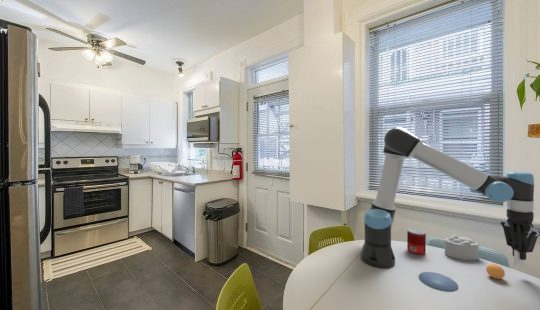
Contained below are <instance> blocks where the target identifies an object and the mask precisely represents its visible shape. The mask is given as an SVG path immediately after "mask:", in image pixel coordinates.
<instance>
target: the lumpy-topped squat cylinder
mask: <svg viewBox="0 0 540 310" xmlns="http://www.w3.org/2000/svg"><path fill="white" fill-rule="evenodd" d="M444 254H445V256H448V257H450V258H453V259H456V260H463V261H475V260H476V261H477V260H479V243H478V242H477V241H474V240H473V239H471V238H468V237H467V236H458V235H457V234H451V235H450V236H448V237H446V238H445V239H444Z"/></svg>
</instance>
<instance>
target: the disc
mask: <svg viewBox="0 0 540 310" xmlns="http://www.w3.org/2000/svg"><path fill="white" fill-rule="evenodd" d="M418 279H419V281H420V282H422V283H423V284H424V285H426V286H427V287H430V288H431V289H435V290H438V291H442V292H454V291H458V289H459V284H458V283H457V282H456V281H455V280H454V279H452V278H451V277H448V276H447V275H444V274H441V273H438V272H433V271H423V272H420V273H419V274H418Z"/></svg>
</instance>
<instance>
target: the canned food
mask: <svg viewBox="0 0 540 310" xmlns="http://www.w3.org/2000/svg"><path fill="white" fill-rule="evenodd" d="M406 235H407V237H406V240H407V241H406V242H407V246H406V247H407V251H408V252H409V253H411V254H413V255H417V256H418V255H419V256H423V255H426V247H427V245H426V243H427V242H426V240H427V237H426V236H427V233H426V231H425V230H423V229H420V228H415V227H414V228H412V227H411V228H407V233H406Z"/></svg>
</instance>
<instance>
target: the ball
mask: <svg viewBox="0 0 540 310" xmlns="http://www.w3.org/2000/svg"><path fill="white" fill-rule="evenodd" d="M485 270H486V273H487V274H488V276H490V277H491V278H492V279H497V280H500V279H503V278H504V277H505V274H506V273H505V272H506V271H505V270H504V268H502V266H500V265H498V264H496V263H490V264H488V265H487V266H486V269H485Z"/></svg>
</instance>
